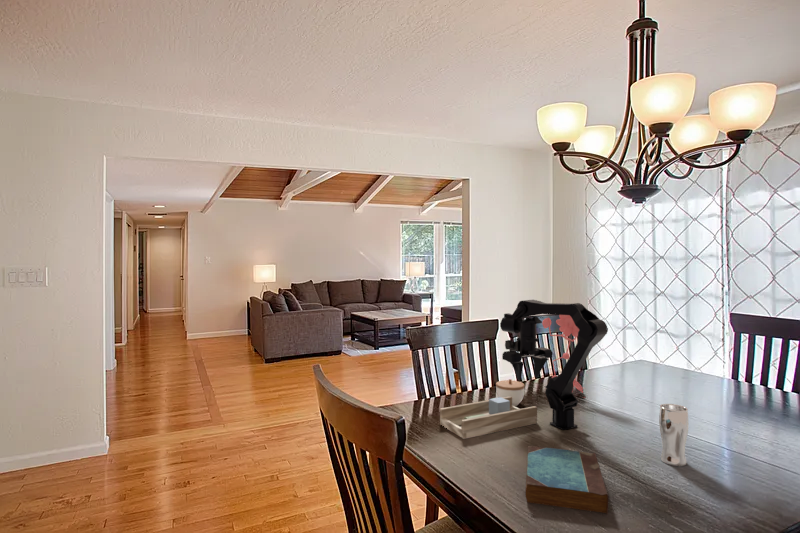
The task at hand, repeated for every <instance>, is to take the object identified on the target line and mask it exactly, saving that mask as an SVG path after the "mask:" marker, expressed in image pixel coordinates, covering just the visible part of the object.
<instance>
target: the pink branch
mask: <svg viewBox="0 0 800 533" xmlns="http://www.w3.org/2000/svg"><path fill="white" fill-rule="evenodd" d="M555 323H556V324H557V325H558V326H559V331H560V332H561V333H562V334H552V330H551V325H552V319H551V318H550V317H546V318H544V319H543V320H542V323H541V324H542V326H543V329H547V328H548V331H549V336H550V337H561V338H564V339H565V340H567V342H568V345H567V349H566V352H563V353H562V356H561V357H558V358H555V359H553V360H552V366H553V373H554V375H552V376H551V378H553V377H556V376H557V375H556V370H555V364H554V363H555V362H556V361H558V360H560V359H564V360H568V359H569V357H570V356H571V355H570V353H568V352H569V349H570V346H571V342H575V340H576V339H578V332H579V329H578V327H577V326H576V325H575V323H574V321H573V319H572V317H571V316H570V315H559V318H558V319H556V321H555ZM571 335H572V336H573V337H574V338H573V339H571V338H570V337H569V336H571ZM574 388H576V389H577V390H578V391H579V392H580V393H582V394H583V393H584V387H582V385H581V384H580V382H578V381H577V377H576V378H575V379H574V381H573V389H574ZM573 392H574V390H573V391H572V393H573ZM582 398H583V399H584V398H587V397H586V396H584V397H583V396H582Z"/></svg>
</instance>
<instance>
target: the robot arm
mask: <svg viewBox="0 0 800 533" xmlns="http://www.w3.org/2000/svg"><path fill="white" fill-rule="evenodd" d="M538 315H540V316H541V315H553V316H554V315H555V316H556V315H557V316H558V315H570V316H571V317H572V319H573V321H574V323H575V325H576V326H577V327H578V329H579V332H578V336H577V343H576V345H575V347H574V348H573V351H572V352H571V354H570V355H569V356H570V357H569V359H567V361H566V363H565V364H564V367H563V369H562V370H561V372H560V374H559V375H556V377H553V378H552V377H550V379H549V381H548V382H547V385H545V388H546V389H545V392H544V393H545V396H546V398H547V402H548V405H549V409H552V421H551V422H549V425H552V426H553V427H556V428H558V429H560V430H563V431H565V430H570V429H574V428H578V425H577V424H575V409H574V408H576V407H577V406H578V403H579V400H578V399H577V397H576V396H575V394H574V393H573V392H574V388H573V381H574V380H575V378H576V379H577V376H578V375H579V372H580V370H581V369H582V368H583V364H584V363H585V362H586V360H587V358H588V356H589V355H590V353H591V351H592V350H593V348H594V347H595V346H596V345H597V344H599V343H600V342H601V341H602V340H603V339H604V337H605V336H607V334H608V331H609V327H608V325H607V323H606V322H605V321H604V320H602V319H600V318H599V317H598V316H597V315H596V314H595V313H593V312H591V311H590V310H589V309H588V308H586V307H585V306H584V305H583V304H582V303H579V302H574V303H560V302H559V303H557V302H556V303H554V302H549V303H548V302H545V301H544V302H543V301H541V300H537V299H526V300H520V301H519V302H518V304H517V306H516V308H515V310H514V311H513V313H508V312H507V313H504V314H503V317H502V319H501V321H500V323H499V325H500V326H499V327H500V329H501V331H503V332H507V333H513V334H518V333H519V336H518V337H517V338H516V341H513V340H512V339H507V340H505V342H504V347H505V350H508V351H504V352H502V354H501V355H502V358H501V359H502V361H503V360H504V361H506V362H508V363H510V364H511V366H512V368H513V370H514V373H515V377H516V379H517V381H521V379H522V374H523V367H524V361H522V360H523V359H525V358H531V359H532V360H533V375H534V377H535V378H536V379H537V378H538V377H539V375H540V373H541V371H542V369H543V368H544V366H545V364H546V363H547V361H549V358H550V359H551V358H553V351H552V349H550V348H546V347H542V346H541V347H537V342H539V341H540V339H539V338H537V325H538V324H542V322H543V320H541V319H540V318H539V317H538ZM572 391H573V392H572Z"/></svg>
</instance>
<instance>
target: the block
mask: <svg viewBox="0 0 800 533" xmlns="http://www.w3.org/2000/svg"><path fill="white" fill-rule="evenodd" d="M488 400H489V414H496V413H501V412H507V411H510V401H509V400H506V399H504V398H501V397H498V396H497V397H494V398H488Z"/></svg>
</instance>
